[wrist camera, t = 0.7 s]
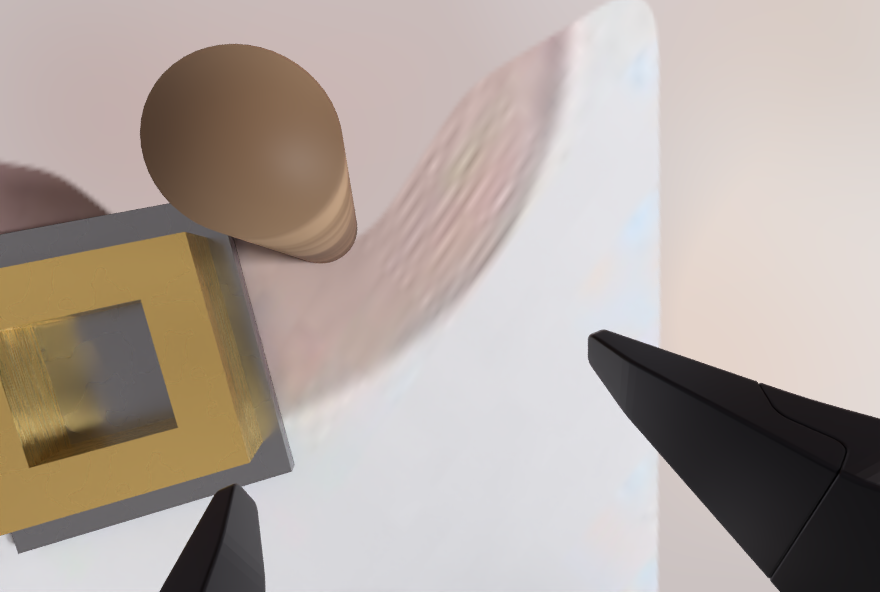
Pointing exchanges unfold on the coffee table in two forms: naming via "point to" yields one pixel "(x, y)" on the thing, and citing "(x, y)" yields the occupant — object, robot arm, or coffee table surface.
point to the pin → (251, 151)
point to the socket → (127, 374)
